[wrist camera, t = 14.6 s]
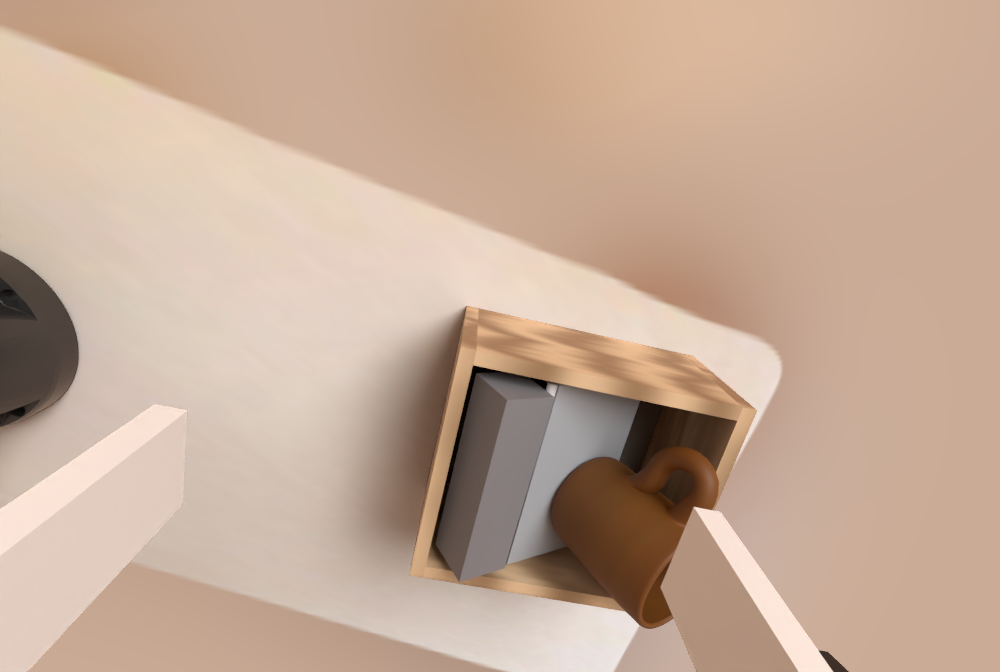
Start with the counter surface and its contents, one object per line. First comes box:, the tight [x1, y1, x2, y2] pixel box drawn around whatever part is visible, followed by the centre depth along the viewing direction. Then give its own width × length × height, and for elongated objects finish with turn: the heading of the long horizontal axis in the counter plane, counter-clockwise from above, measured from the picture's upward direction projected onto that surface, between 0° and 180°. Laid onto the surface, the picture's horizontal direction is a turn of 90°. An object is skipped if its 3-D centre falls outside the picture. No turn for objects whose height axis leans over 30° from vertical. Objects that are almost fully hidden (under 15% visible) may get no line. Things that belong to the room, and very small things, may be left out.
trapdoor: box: [436, 373, 640, 582], centre depth 37 cm, size 14×15×4 cm
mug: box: [551, 446, 719, 629], centre depth 35 cm, size 12×8×9 cm
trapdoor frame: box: [410, 306, 757, 611], centre depth 39 cm, size 20×18×10 cm
